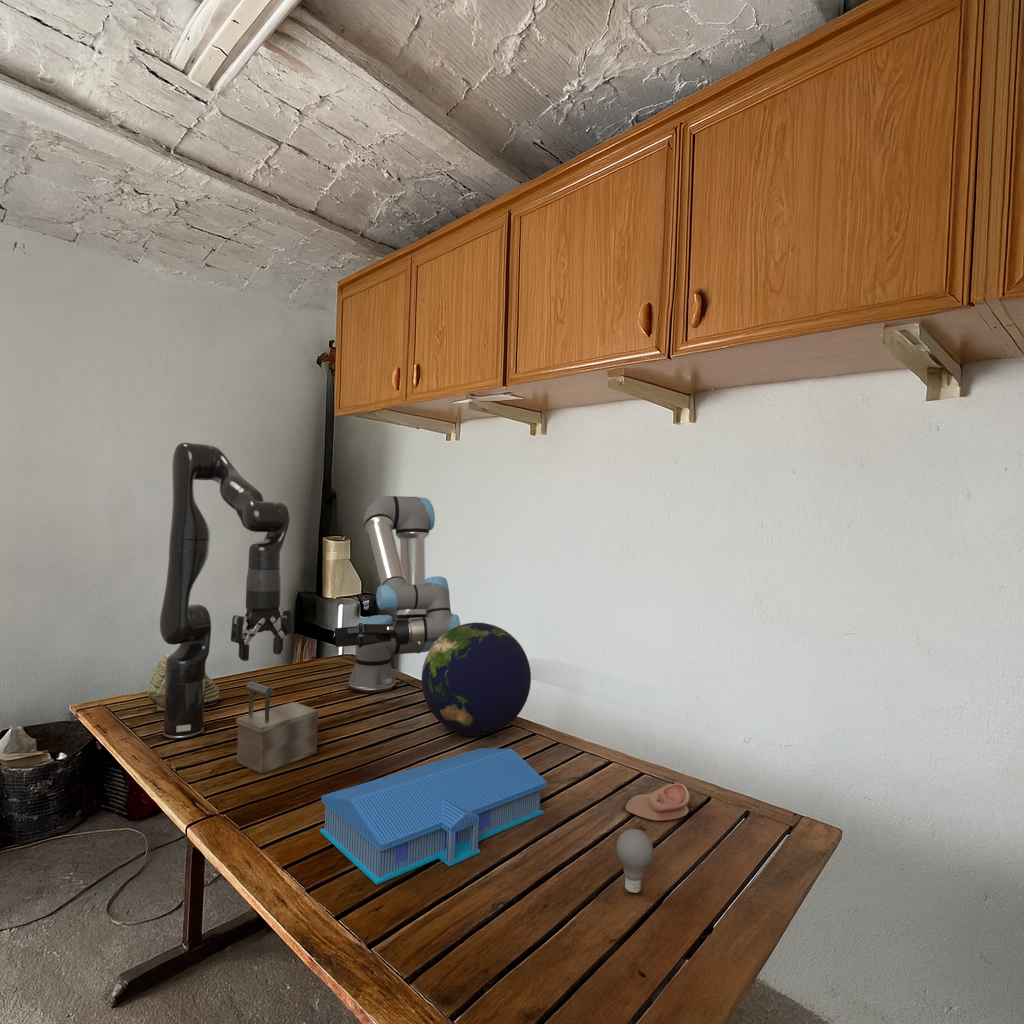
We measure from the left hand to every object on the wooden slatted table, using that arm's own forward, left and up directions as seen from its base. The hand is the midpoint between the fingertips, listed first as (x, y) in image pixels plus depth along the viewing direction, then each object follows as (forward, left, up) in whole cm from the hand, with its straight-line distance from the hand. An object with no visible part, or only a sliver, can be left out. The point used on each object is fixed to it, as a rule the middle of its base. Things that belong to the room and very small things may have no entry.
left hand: (261, 657), depth 147 cm
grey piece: (-1, +5, -16) cm, 17 cm away
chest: (-1, +5, -25) cm, 26 cm away
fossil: (-52, -1, -25) cm, 58 cm away
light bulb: (+85, +29, -25) cm, 94 cm away
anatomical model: (+72, +57, -25) cm, 95 cm away
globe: (+15, +54, -25) cm, 61 cm away
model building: (+49, +17, -25) cm, 57 cm away
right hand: (-22, +30, -3) cm, 38 cm away
